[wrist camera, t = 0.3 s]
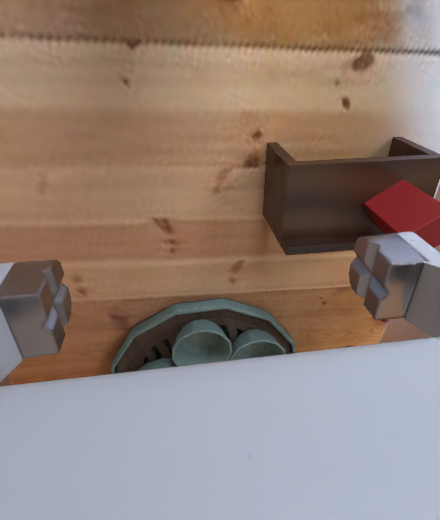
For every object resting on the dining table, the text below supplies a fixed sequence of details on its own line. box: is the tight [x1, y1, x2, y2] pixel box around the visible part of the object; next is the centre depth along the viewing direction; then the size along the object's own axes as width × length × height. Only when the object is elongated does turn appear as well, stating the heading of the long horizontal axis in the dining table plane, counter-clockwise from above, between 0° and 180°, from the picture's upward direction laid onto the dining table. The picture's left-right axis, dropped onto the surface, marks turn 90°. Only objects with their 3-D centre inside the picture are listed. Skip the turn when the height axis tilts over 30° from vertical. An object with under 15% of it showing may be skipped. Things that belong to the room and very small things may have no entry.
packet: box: [364, 179, 440, 248], centre depth 47 cm, size 4×6×10 cm, turn 124°
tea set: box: [110, 298, 296, 374], centre depth 73 cm, size 40×40×16 cm
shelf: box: [263, 137, 440, 255], centre depth 54 cm, size 12×22×14 cm, turn 91°
